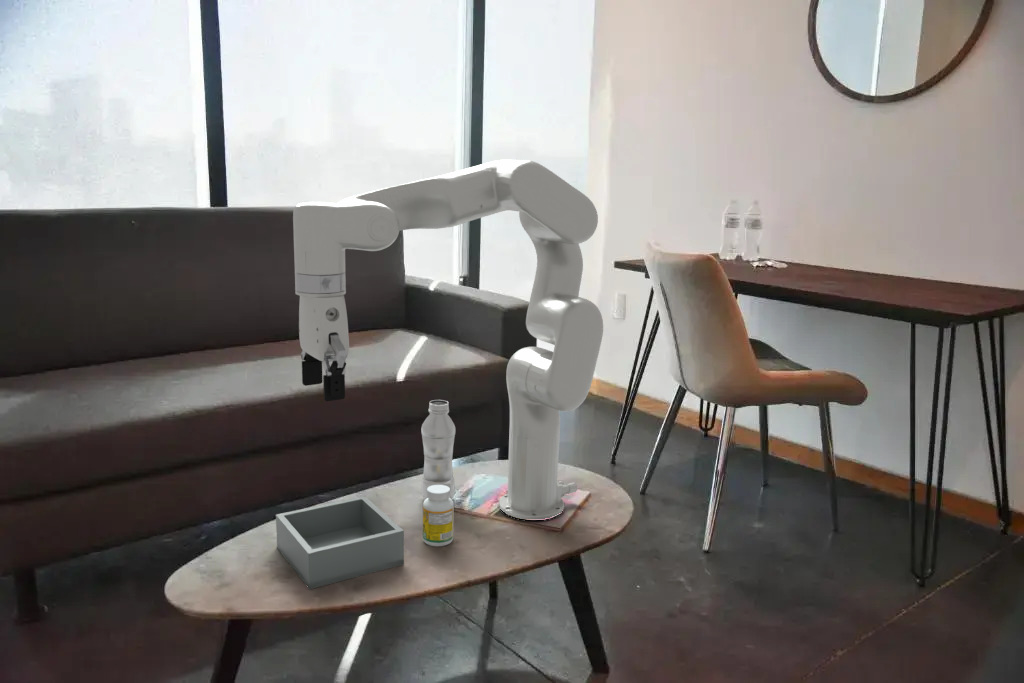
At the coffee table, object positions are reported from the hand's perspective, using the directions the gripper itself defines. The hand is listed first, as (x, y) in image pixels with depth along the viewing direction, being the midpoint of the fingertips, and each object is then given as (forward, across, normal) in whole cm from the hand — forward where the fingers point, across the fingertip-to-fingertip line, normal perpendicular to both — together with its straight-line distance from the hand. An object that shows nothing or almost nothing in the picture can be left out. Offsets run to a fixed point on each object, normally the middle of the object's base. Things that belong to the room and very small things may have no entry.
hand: (323, 391), depth 127 cm
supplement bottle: (+29, -2, -19) cm, 35 cm away
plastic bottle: (+29, +13, -27) cm, 42 cm away
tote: (+29, 0, -2) cm, 29 cm away
